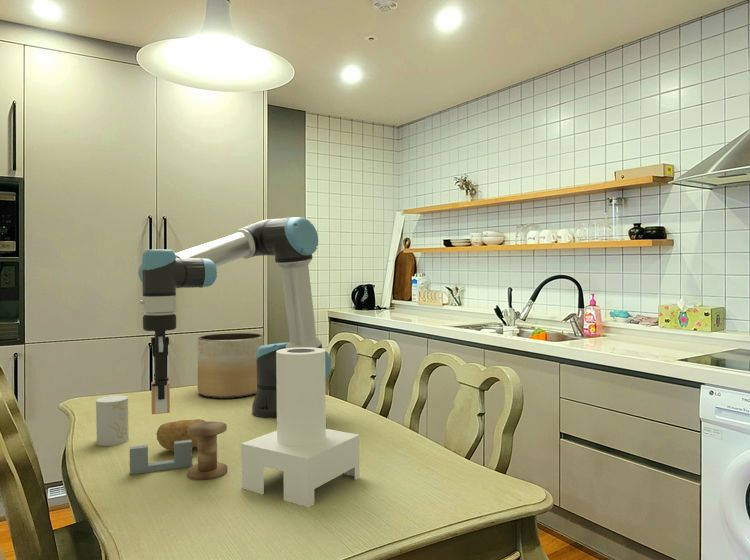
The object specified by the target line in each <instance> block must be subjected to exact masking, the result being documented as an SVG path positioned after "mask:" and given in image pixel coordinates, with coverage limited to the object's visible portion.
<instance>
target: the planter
mask: <svg viewBox="0 0 750 560" xmlns="http://www.w3.org/2000/svg"><path fill="white" fill-rule="evenodd" d="M263 345H264V335H263V334H262V333H255V332H224V333H221V332H220V333H211V334H204V335H201V336H198V337H197V392H198V393H199V394H200V395H202V396H204V397H207V398H210V397H212V399H235V398H234V397H239V398H244V397H243V396H246V397H249V396H248V395H250V396H254V395H256V392H257V360H256V358H257V350H258V348H259V347H260V346H263ZM253 394H254V395H253Z"/></svg>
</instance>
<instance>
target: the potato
mask: <svg viewBox="0 0 750 560" xmlns="http://www.w3.org/2000/svg"><path fill="white" fill-rule="evenodd" d="M200 422H207V421H206V420H203V419H200V418H198V419H196V418H195V419H184V420H183V419H182V420H181V419H180V420H176V421H170V422H164V423H163V424H161V425H160V426H158V428H157V431H156V440H157V442H158V443H159V445H160V446H161V447H162V448H163V449H165V450H168V451H169V452H170V451H171V452H174V442H175V441H184V440H192V449H194V448H196V447H198V444H197V436H191V435H188V434H187V427H188V426H190V425H192V424H196V423H200Z"/></svg>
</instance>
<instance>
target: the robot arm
mask: <svg viewBox="0 0 750 560" xmlns="http://www.w3.org/2000/svg"><path fill="white" fill-rule="evenodd" d="M318 246H319V236H318V232H317V229H316V227H315V226H314V224H313V223H312V222H311V220H309V219H308V218H305V217H295V216H293V217H292V216H291V217H284V218H282V217H281V218H269V219H263V220H260V221H257V222H255V223H252V224H248V225H247V226H244V227H241V228H238V229H236V230H235V231H234V232H233V234H231V235H227V236H223V237H221V238H218V239H215V240H213V241H208V242H206V243H203V244H200V245H197V246H193V247H191V248H188V249H184V250H181V251H179V252H176V251H175V250H174V249H146V250H144V251H143V252H142V256H141V257H142V259H141V263H140V266H139V268H138V278H139V280H140V282H141V284H142V285H141V286H142V287H141V288H142V299H140V301H139V304H140V305H143V306H142V312H143V313H144V315H143V316H142V329H143V331H146V332H154V337H150V339H151V340H150V341H151V342H150V343H151V346H152V347H151V348H152V350H151V351H152V357H154V361H153V362H154V374H153V376H154V382H155V384H152V387H153V386H155V413H161V414H166V413H165V412H167V382H168V381H170V377H168V373H167V372H168V369H167V367H168V366H167V365H168V362H167V361H168V359H167V358H168V356H169V345H170V338H169V336H166V331H174V330H176V329H177V315H176V314H175V312H176V311H177V289H180V288H181V289H185V288H187V289H190V288H193V289H194V288H201V289H202V288H208V287H211V286H212V285H214V284H215V282H216V280H217V277H218V276H217V275H218V269H217V267H221V266H222V265H225V264H228V263H230V262H233V261H236V260H239V259H241V258H242V259H245V260H246V259H247V260H249V259H250V258H253V257H260V256H272V257H273V256H274V262H275V264H276V265H277V266H279V267H280V270H281V279H282V280H281V281H282V287H283V294H284V295H283V296H284V302H285V303H284V304H285V311H286V313H285V314H286V321H287V328H288V337H289V341H288V342H278V343H270V344H265V345H264V344H263V346H260V347H259V348H258V350H257V358H256V360H257V392H256V394H255V396H254V399H253V402H252V406H251V414H252V415H253V416H256V417H260V418H277V378H276V351H277V350H280V349H285V348H296V347H313V348H322V349H323V341H322V340H320V339H318V338H317V332H316V330H317V329H316V321H315V314H314V313H315V312H314V303H313V296H312V295H313V294H312V285H311V277H310V269H309V268H310V267H309V265H310V263H311V262H312V260H313V254H315V252H316V251H317V249H318ZM331 369H332V356H331V354H329V352H328V351H326V350H325V381H326V380H327V379H328V378H329V377H328V376H329V375H330V372H331Z"/></svg>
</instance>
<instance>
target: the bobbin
mask: <svg viewBox="0 0 750 560" xmlns="http://www.w3.org/2000/svg"><path fill="white" fill-rule="evenodd" d="M227 427H228V426H227V424H226V423H225V422H222V421H210V420H209V421H206V422H200V423H196V424H192V425H190V426H188V427H187V434H188V435H191V436H197V444H198V445H197V463H196V464H194V465H192V466H190V467H188V469H187V477H188V478H189V479H191V480H199V481H203V480H204V481H205V480H206V481H207V480H212V479H213V480H214V479H217V478H221V477H222V476H225V475H226V473H227V472H228V465H227V464H226V463H223V462H219V461H218V439H217V438H218V437H217V436H218V435H220V434H224V433H225V432H226V431H227V430H228V428H227Z"/></svg>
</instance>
